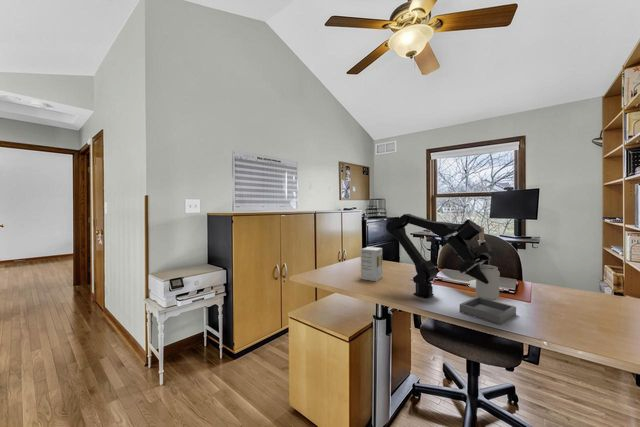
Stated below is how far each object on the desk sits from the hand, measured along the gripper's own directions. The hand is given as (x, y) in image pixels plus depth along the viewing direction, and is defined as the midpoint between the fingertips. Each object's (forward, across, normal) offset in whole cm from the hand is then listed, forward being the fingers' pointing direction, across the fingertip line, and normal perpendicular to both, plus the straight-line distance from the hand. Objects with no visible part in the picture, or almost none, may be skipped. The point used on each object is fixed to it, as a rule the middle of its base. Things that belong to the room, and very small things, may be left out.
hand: (491, 281), depth 101 cm
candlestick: (-1, +32, +19) cm, 38 cm away
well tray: (+8, 0, +10) cm, 13 cm away
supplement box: (-33, +4, +52) cm, 62 cm away
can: (+4, 0, +6) cm, 7 cm away
